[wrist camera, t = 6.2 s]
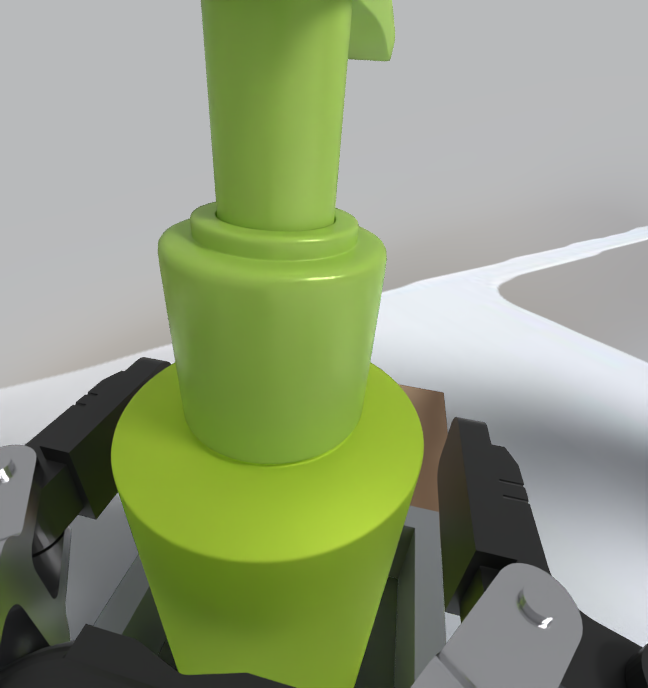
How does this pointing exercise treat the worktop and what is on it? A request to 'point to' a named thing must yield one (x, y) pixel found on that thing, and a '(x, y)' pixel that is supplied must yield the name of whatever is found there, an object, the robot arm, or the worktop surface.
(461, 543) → the robot arm
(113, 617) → the tray
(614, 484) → the worktop surface
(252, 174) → the soap dispenser
